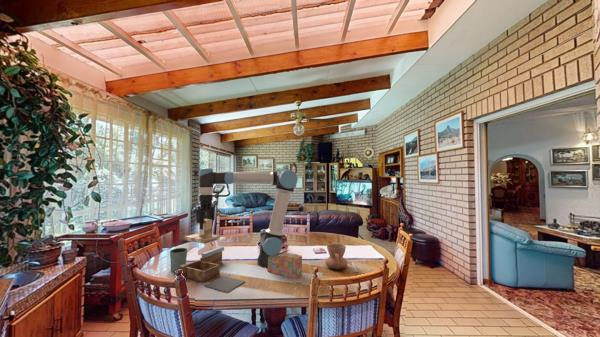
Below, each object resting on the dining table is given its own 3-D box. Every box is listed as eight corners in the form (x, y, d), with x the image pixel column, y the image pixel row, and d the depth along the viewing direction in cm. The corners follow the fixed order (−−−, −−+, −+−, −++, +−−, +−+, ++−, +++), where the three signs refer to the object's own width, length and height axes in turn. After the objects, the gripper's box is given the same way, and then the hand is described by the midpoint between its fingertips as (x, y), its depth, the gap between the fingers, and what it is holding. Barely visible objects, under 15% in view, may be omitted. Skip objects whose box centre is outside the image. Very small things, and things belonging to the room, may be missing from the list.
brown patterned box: (267, 272, 151) (267, 252, 151) (273, 268, 156) (273, 249, 157) (296, 279, 140) (296, 258, 140) (302, 275, 145) (302, 255, 146)
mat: (245, 282, 136) (245, 281, 136) (227, 293, 123) (227, 291, 123) (223, 276, 143) (223, 275, 143) (204, 286, 131) (204, 285, 131)
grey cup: (182, 264, 162) (183, 246, 162) (190, 268, 155) (190, 249, 156) (166, 269, 154) (167, 250, 154) (173, 273, 147) (174, 253, 148)
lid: (219, 239, 146) (219, 218, 147) (204, 244, 136) (205, 222, 137) (199, 236, 154) (199, 216, 154) (184, 240, 144) (184, 219, 144)
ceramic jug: (325, 262, 168) (325, 241, 169) (346, 263, 166) (346, 242, 167) (324, 272, 150) (324, 249, 151) (348, 274, 148) (348, 250, 149)
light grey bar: (224, 250, 168) (224, 246, 168) (204, 257, 153) (204, 253, 153) (221, 249, 169) (221, 246, 169) (201, 257, 154) (201, 253, 154)
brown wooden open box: (237, 266, 160) (237, 254, 160) (199, 284, 132) (199, 271, 133) (217, 261, 168) (217, 250, 168) (177, 278, 140) (177, 265, 140)
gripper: (212, 193, 154) (212, 230, 153) (189, 195, 138) (189, 236, 138) (221, 193, 150) (221, 231, 150) (198, 195, 135) (198, 237, 134)
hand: (205, 233), depth 144 cm, fingers closed on lid, 4 cm apart
